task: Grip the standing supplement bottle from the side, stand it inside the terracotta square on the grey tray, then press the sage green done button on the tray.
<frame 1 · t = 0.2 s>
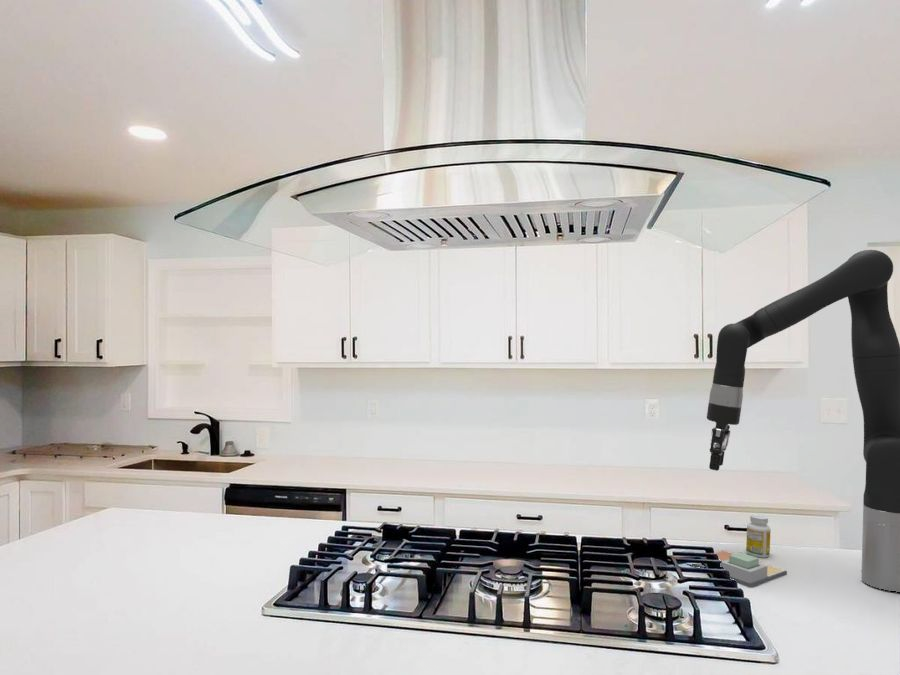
hand: (715, 467, 154), 22 cm above the counter, tool pointing down, fingers open, 8 cm apart
grey tray: (735, 569, 144), on the counter
supplement bottle: (757, 555, 155), on the counter
done button: (743, 562, 139), point 4 cm above the counter, slide at 0.0 cm
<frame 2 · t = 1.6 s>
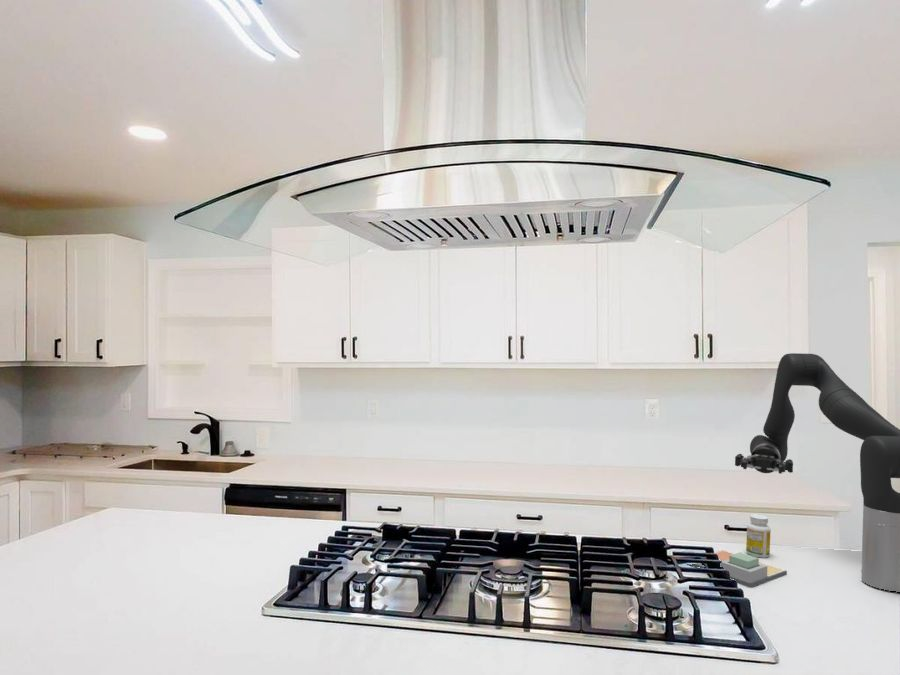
hand: (762, 467, 165), 20 cm above the counter, tool horizontal, fingers open, 8 cm apart
nothing on the counter moved.
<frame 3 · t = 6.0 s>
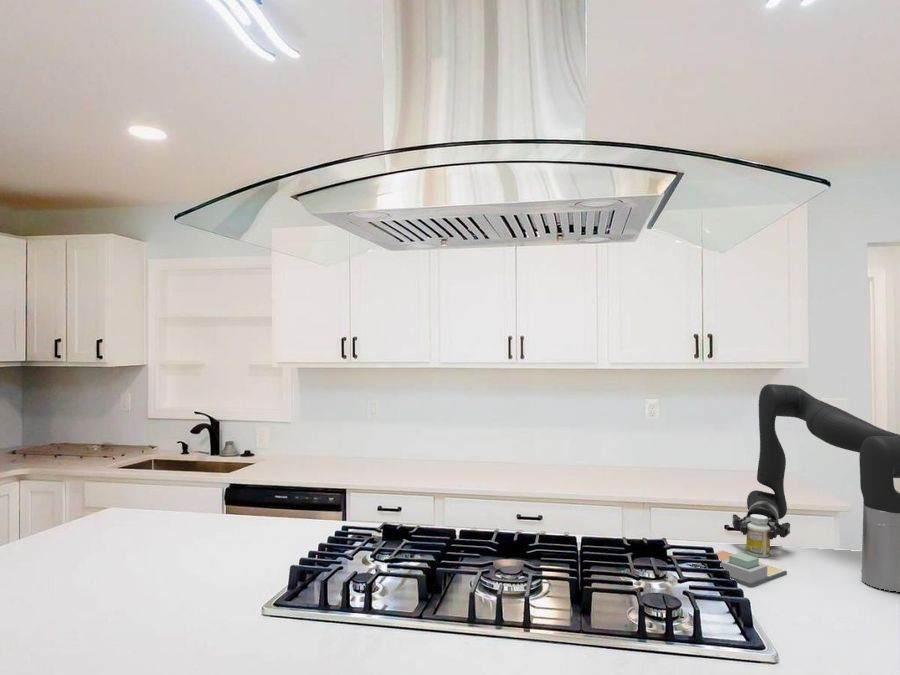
hand: (757, 533, 153), 6 cm above the counter, tool horizontal, fingers closed on supplement bottle, 5 cm apart
supplement bottle: (757, 555, 155), on the counter, touching gripper
everything else where it was.
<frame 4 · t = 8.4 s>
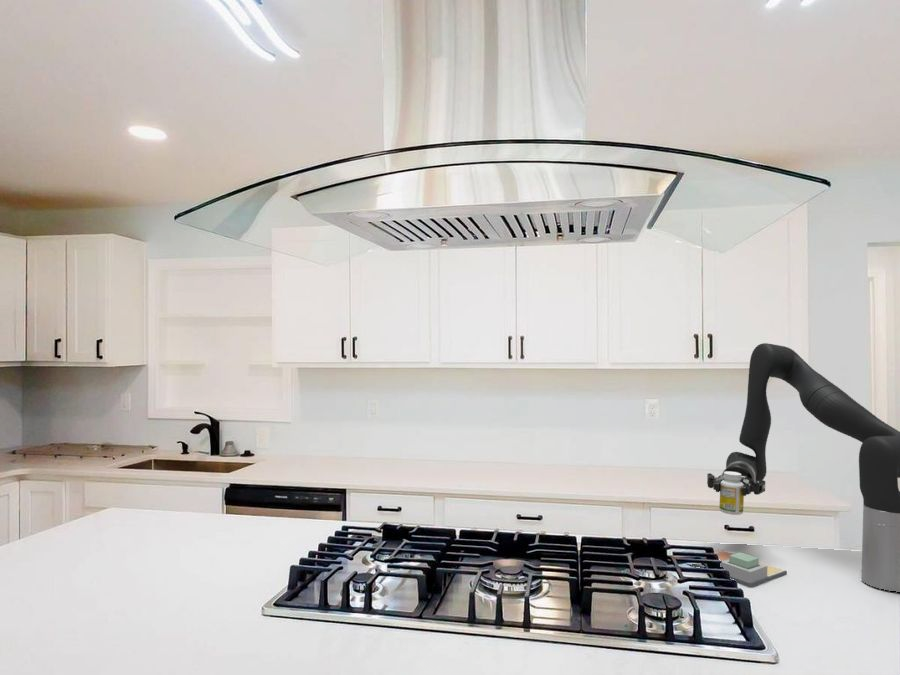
hand: (730, 489, 149), 18 cm above the counter, tool horizontal, fingers closed on supplement bottle, 5 cm apart
supplement bottle: (731, 512, 151), point 11 cm above the counter, touching gripper
everything else where it was.
when the fingers open (8 cm above the counter, at t = 10.9 s): supplement bottle stays where it is, resting on grey tray.
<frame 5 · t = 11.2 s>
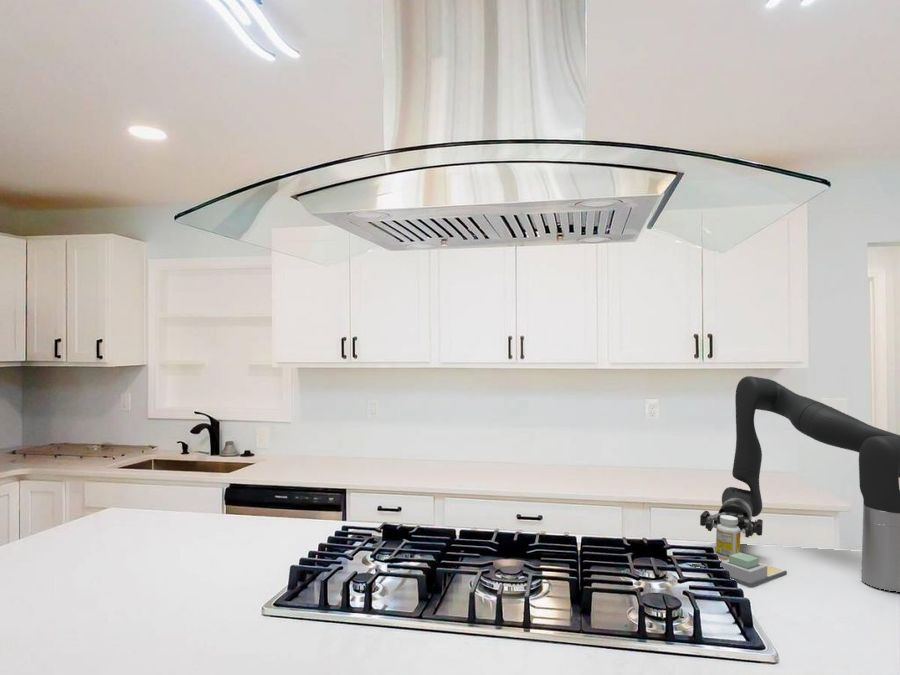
hand: (727, 530, 148), 8 cm above the counter, tool horizontal, fingers open, 8 cm apart
supplement bottle: (727, 557, 150), point 1 cm above the counter, touching grey tray
everything else where it was.
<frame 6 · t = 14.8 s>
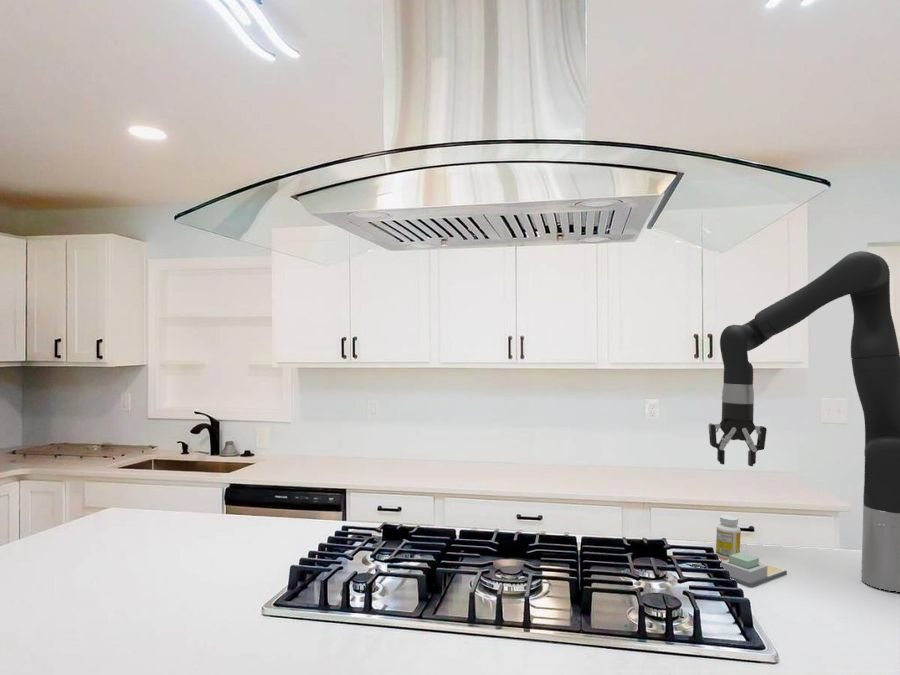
hand: (736, 464, 161), 22 cm above the counter, tool pointing down, fingers open, 6 cm apart
nothing on the counter moved.
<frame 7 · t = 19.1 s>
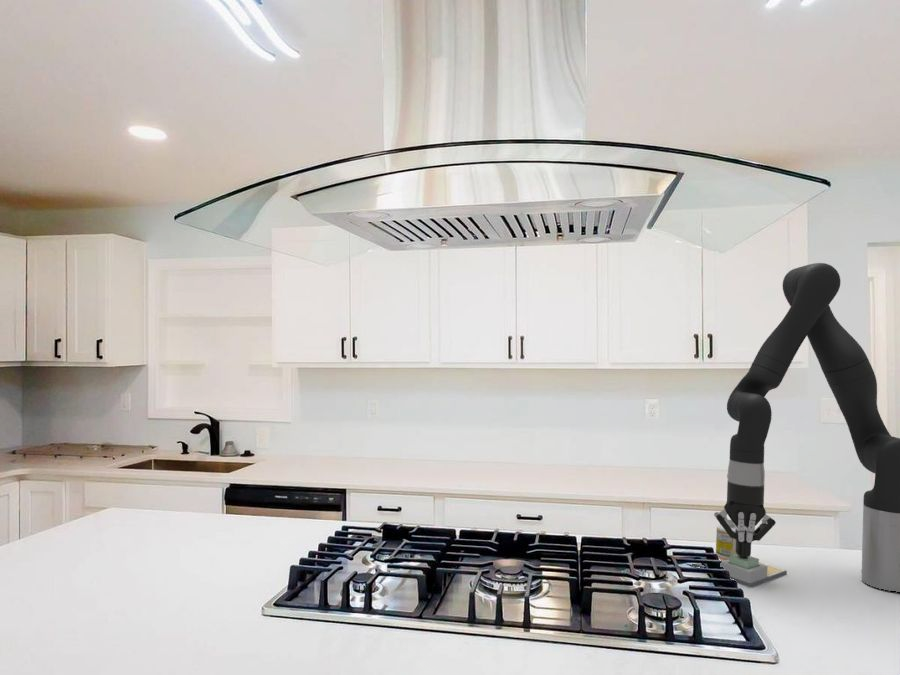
hand: (743, 557, 139), 5 cm above the counter, tool pointing down, fingers closed
done button: (743, 563, 139), point 4 cm above the counter, slide at 0.2 cm, touching gripper
everything else where it was.
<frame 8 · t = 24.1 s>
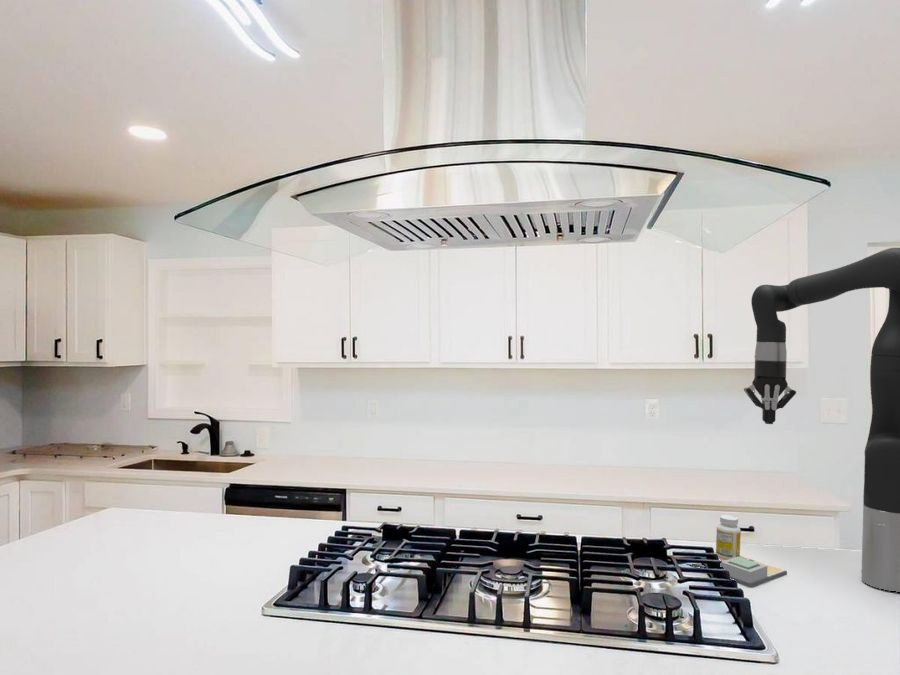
hand: (768, 423, 165), 32 cm above the counter, tool pointing down, fingers closed
done button: (743, 567, 139), point 2 cm above the counter, slide at 1.2 cm
everything else where it was.
at the end: supplement bottle 0.1 cm from the target spot on the grey tray, point 0.8 cm above the grey tray's base; supplement bottle tilted 0°; done button slide at 1.2 cm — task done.
